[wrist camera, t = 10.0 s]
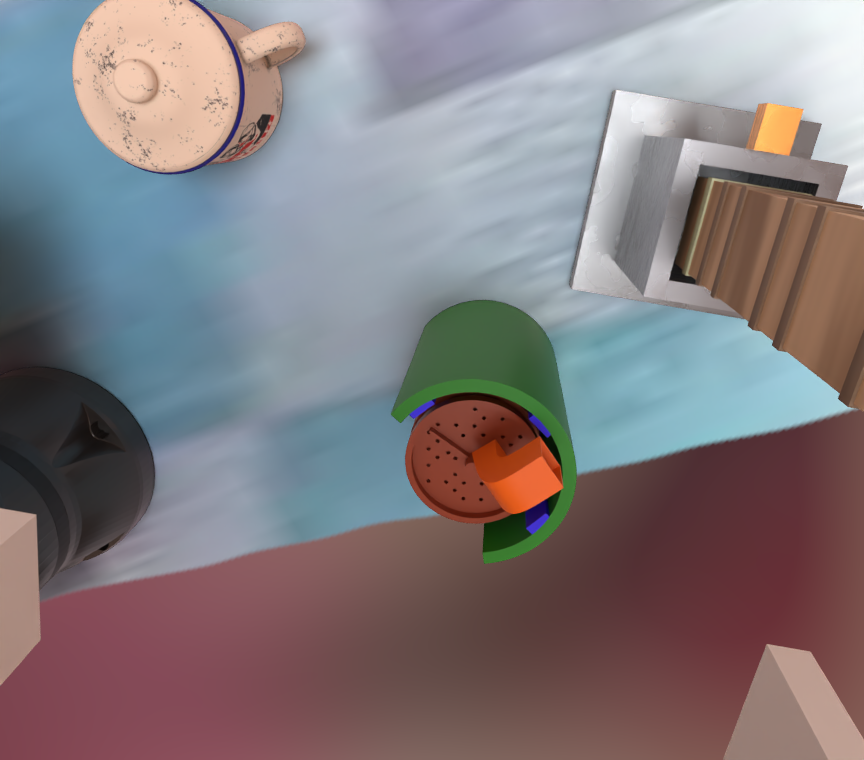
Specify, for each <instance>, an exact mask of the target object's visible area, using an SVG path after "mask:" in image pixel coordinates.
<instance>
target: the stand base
mask: <svg viewBox="0 0 864 760" xmlns="http://www.w3.org/2000/svg"><path fill="white" fill-rule="evenodd" d="M802 112H803V109H799V108H793V107H787V106H781V105H775V104H769V103H765V104H759V105H758V108H757V111H756V113H753V112H747V111H741V110H735V109H729V108H723V107H717V106H711V105H705V104H699V103H693V102H687V101H681V100H675V99H669V98H663V97H657V96H651V95H644V94H638V93H632V92H626V91H620V90H614V91H613V92H612V97H611V101H610V106H609V110H608V115H607V119H606V124H605V128H604V132H603V137H602V141H601V146H600V150H599V155H598V159H597V163H596V168H595V172H594V177H593V181H592V186H591V190H590V195H589V199H588V203H587V208H586V212H585V217H584V221H583V226H582V230H581V235H580V239H579V243H578V248H577V252H576V257H575V261H574V266H573V270H572V275H571V279H570V283H569V285H570V287H571V289H574V290H580V291H585V292H591V293H597V294H603V295H608V296H614V297H620V298H626V299H631V300H637V301H643V302H649V303H655V304H660V305H666V306H672V307H678V308H683V309H689V310H695V311H701V312H707V313H712V314H718V315H724V316H730V317H735V318H741V319H745V318H744V317H742V316H741V315H740V314H738V313H737V312H736V311H735V310H733V309H732V308H731V307H730V306H728V305H727V304H726V303H725V302H723V301H722V300H720V299H714V298H713V297H711V296H710V294H711V291H709V290H708V289H707V288H705V287H701V286H698V285H697V284H695V282H696V280H695V279H694V278H693V277H692V276H686V275H684V274H683V273H682V271H683V269H681V268H680V267H679V266H678V265H676V264H675V260H676V256H677V253H678V249H679V245H680V242H681V238H682V234H683V231H684V227H685V223H686V220H687V216H688V212H689V209H690V205H691V201H692V198H693V194H694V190H695V187H696V183H697V179H698V176H699V177H705V178H708V177H711V178H717V179H723V180H729V181H735V182H741V183H747V184H753V185H759V186H765V187H771V188H777V189H783V190H789V191H795V192H801V193H807V194H811V195H812V196H817V197H822V198H828V199H833V200H835V201H836V200H837V197H838V194H839V191H840V188H841V185H842V182H843V179H844V177H845V174H846V171H847V168H848V166H847V165H841V164H835V163H829V162H823V161H817V160H811V156H812V153H813V149H814V146H815V143H816V140H817V137H818V134H819V131H820V128H821V124H820V123H814V122H808V121H802V120H800V119H801V116H802Z"/></svg>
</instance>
